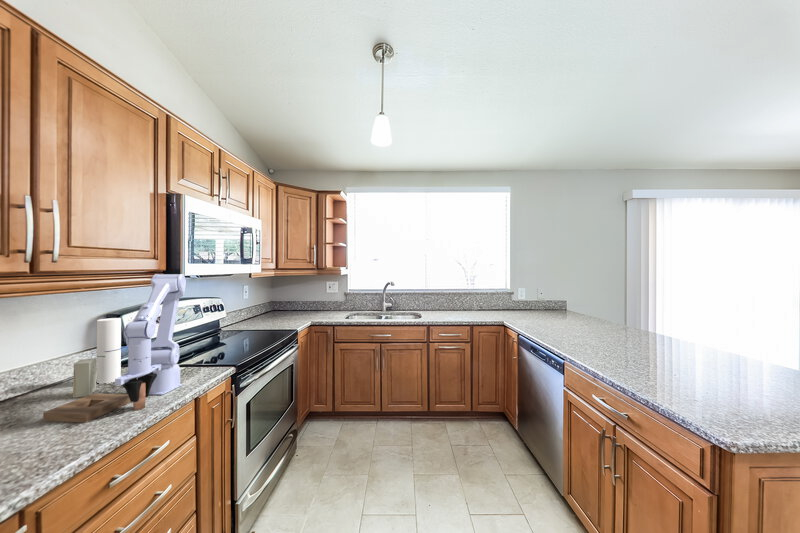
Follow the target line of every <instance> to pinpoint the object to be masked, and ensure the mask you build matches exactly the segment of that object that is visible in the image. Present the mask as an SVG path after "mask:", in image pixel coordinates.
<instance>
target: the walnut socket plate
mask: <svg viewBox="0 0 800 533" xmlns="http://www.w3.org/2000/svg"><path fill="white" fill-rule="evenodd" d="M129 403H132V402H131V401H130V398H129V395H128V394H117V393H92V394H91V395H88V396H85V397H79V398H78V399H75V400H73V401H70V402H68V403H65V404H62V405H59V406H56V407H54V408H52V409H49V410H47V411H43V412H42V414H43V415H42V418H43V419H42V421H43V422H61V423H62V422H63V423H64V422H66V423H88V422H91V421H93V420H96V419H97V418H99V417H101V416H104V415H105V414H108V413H111V412H113V411H115V410H117V409H119V408H121V407H123V406H125V405H127V404H129Z"/></svg>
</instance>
